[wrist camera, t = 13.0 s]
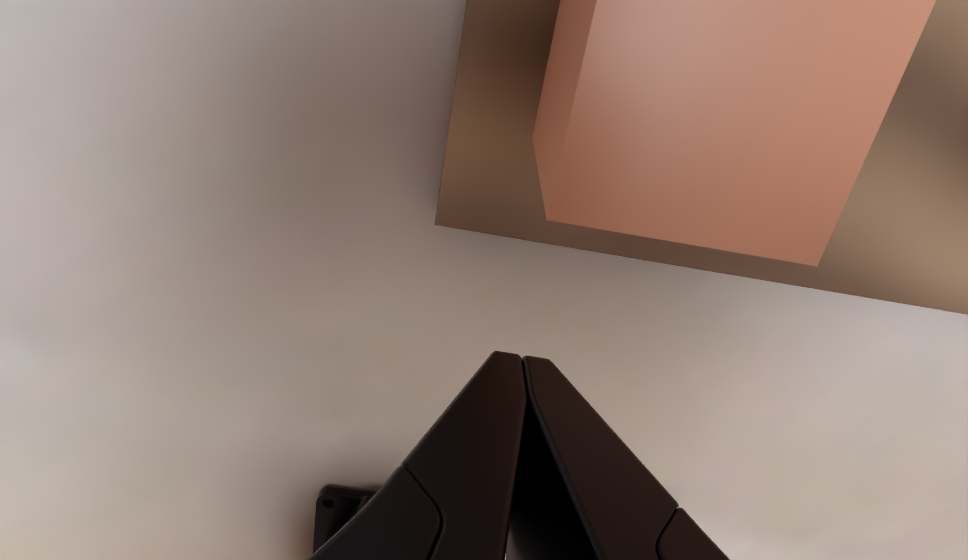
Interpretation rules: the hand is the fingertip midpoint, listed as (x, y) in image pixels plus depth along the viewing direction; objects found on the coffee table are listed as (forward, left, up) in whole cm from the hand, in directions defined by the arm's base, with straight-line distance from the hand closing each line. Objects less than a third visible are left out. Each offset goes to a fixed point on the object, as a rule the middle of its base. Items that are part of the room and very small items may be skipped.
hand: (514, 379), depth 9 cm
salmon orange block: (+4, -3, -10) cm, 11 cm away
